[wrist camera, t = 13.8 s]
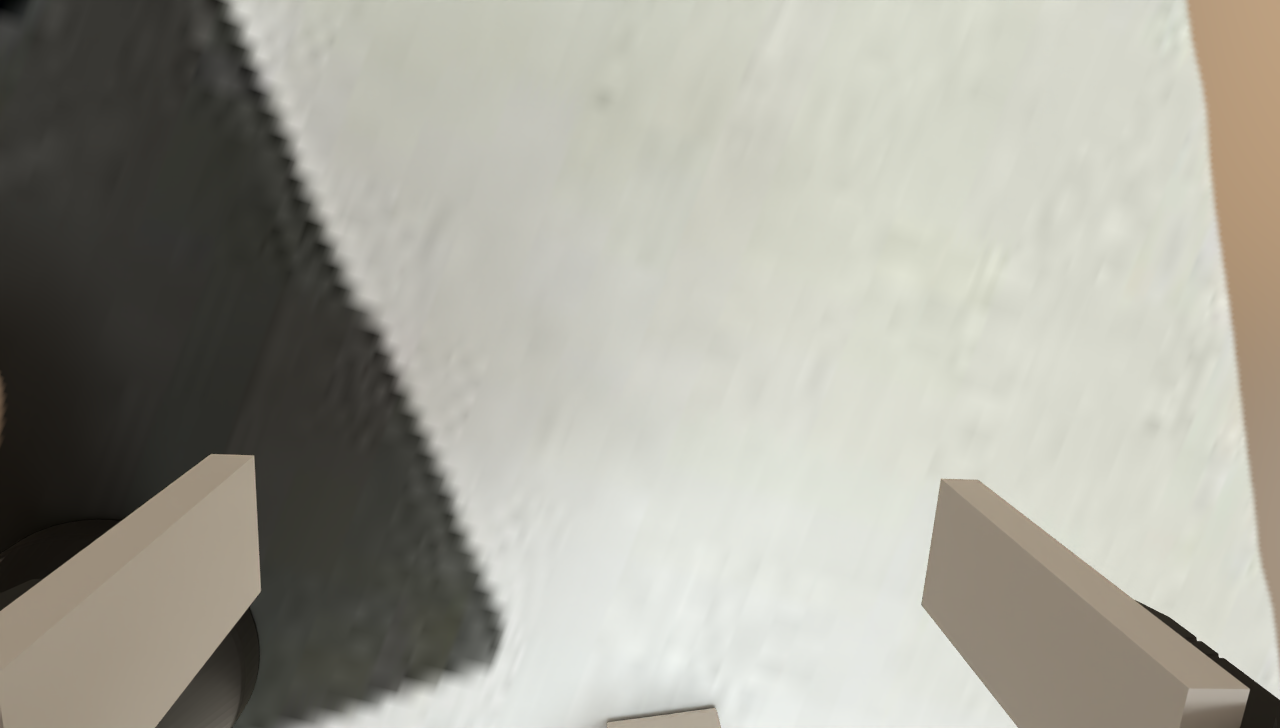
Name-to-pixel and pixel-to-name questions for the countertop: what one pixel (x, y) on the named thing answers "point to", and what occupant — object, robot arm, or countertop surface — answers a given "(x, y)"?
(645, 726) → the soap bottle
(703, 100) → the countertop surface
